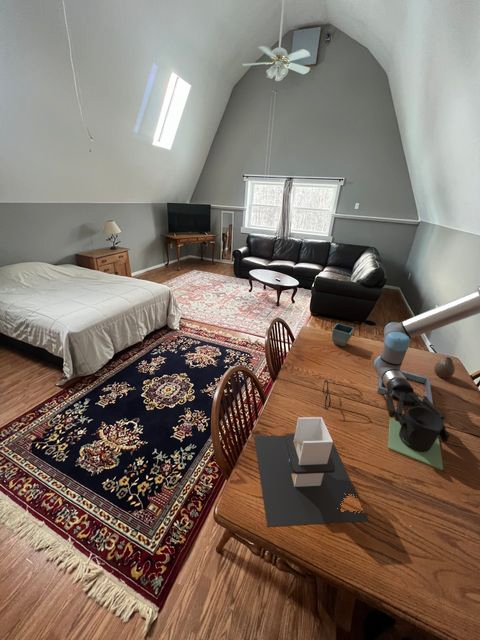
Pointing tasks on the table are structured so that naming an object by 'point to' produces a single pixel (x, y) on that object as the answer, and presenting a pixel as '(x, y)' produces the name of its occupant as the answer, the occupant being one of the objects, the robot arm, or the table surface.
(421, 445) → the pen holder
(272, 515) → the hopper stand
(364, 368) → the table surface
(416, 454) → the mat
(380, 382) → the gray square frame
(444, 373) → the vase
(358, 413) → the glasses
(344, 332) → the flower pot
